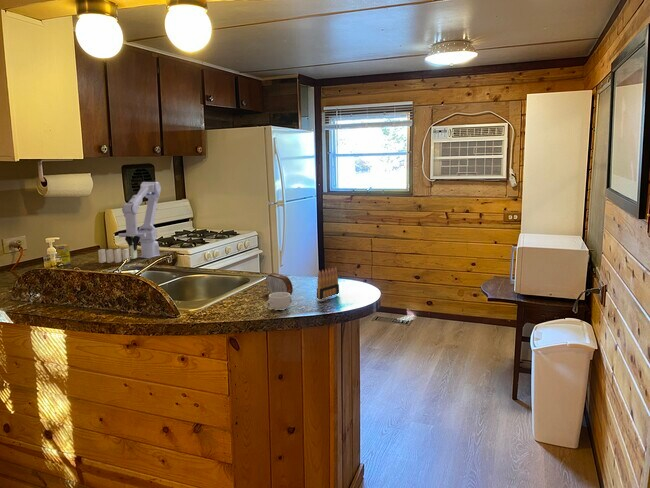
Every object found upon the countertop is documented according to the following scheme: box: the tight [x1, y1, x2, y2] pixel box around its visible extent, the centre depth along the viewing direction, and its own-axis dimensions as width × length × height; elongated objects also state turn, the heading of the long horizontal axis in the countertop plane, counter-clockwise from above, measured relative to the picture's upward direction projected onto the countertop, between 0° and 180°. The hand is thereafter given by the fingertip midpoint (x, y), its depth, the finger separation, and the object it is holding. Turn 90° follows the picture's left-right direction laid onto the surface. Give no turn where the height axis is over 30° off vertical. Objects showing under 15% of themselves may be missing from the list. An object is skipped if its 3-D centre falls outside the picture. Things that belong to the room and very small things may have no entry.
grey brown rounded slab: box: [265, 272, 294, 296], centre depth 193 cm, size 15×3×8 cm, turn 41°
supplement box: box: [52, 243, 72, 267], centre depth 264 cm, size 6×6×11 cm
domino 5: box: [129, 245, 138, 260], centre depth 269 cm, size 2×5×7 cm, turn 178°
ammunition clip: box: [316, 265, 340, 299], centre depth 187 cm, size 11×2×12 cm, turn 136°
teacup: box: [265, 292, 291, 310], centre depth 174 cm, size 10×8×5 cm
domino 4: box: [121, 248, 131, 263], centre depth 270 cm, size 2×5×7 cm, turn 177°
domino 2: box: [105, 248, 115, 264], centre depth 270 cm, size 2×5×7 cm, turn 178°
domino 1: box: [97, 248, 107, 264], centre depth 270 cm, size 2×5×7 cm, turn 177°
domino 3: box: [113, 248, 123, 264], centre depth 270 cm, size 2×5×7 cm, turn 177°
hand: (133, 250), depth 269 cm, fingers closed on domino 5, 1 cm apart
